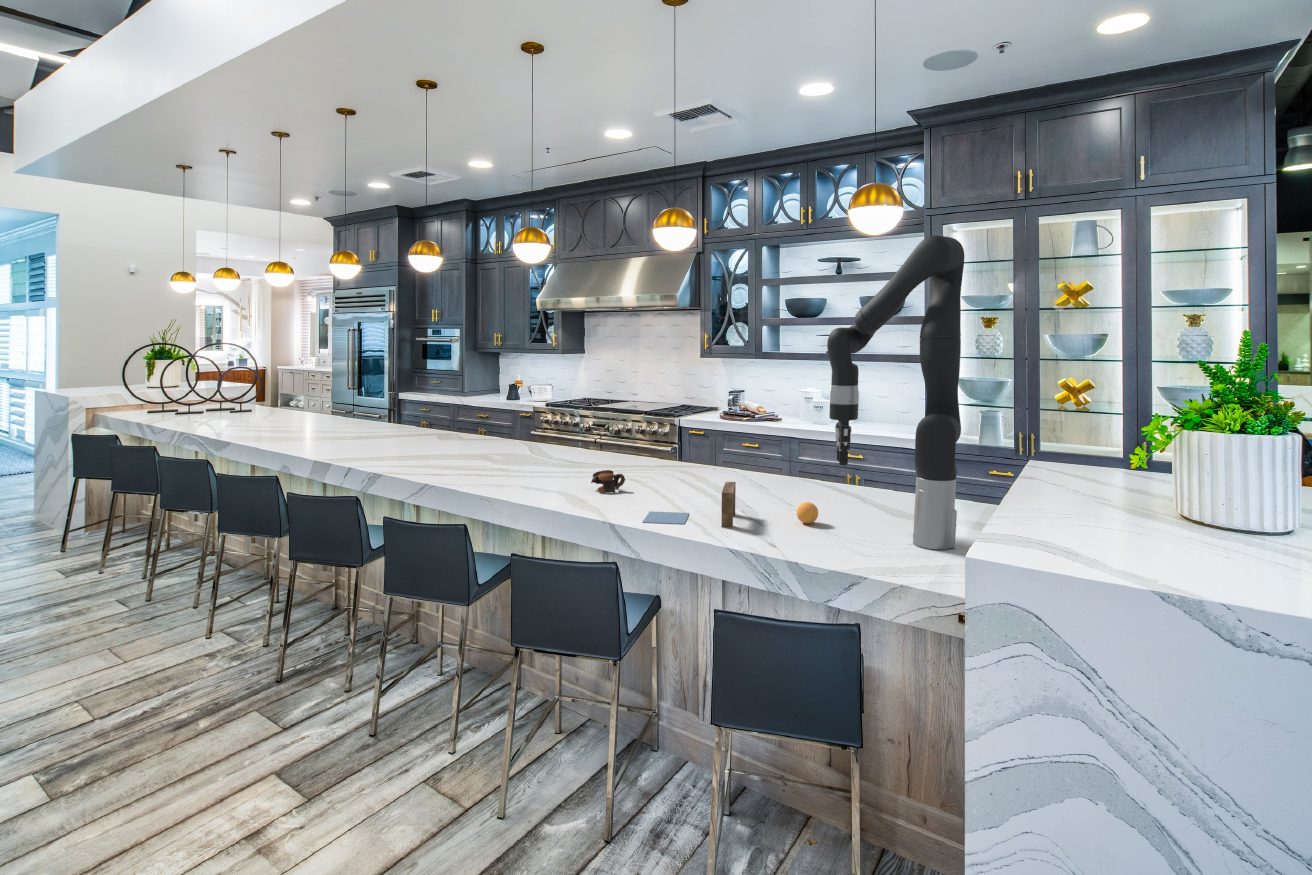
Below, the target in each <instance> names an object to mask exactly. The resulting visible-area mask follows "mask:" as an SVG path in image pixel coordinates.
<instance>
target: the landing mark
mask: <svg viewBox="0 0 1312 875" xmlns="http://www.w3.org/2000/svg"><path fill="white" fill-rule="evenodd" d="M689 515H690V512H679V511H678V512H677V511H675V512H674V511H651V510H650V511H649V512H648V513H647V515H646V517H645V518H644V519H643V520H642V521H641V522H642V523H644V524H645V523H646V524H647V523H649V524H667V525H668V524H671V525H685V524H686V523H687V519H688V518H689Z"/></svg>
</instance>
